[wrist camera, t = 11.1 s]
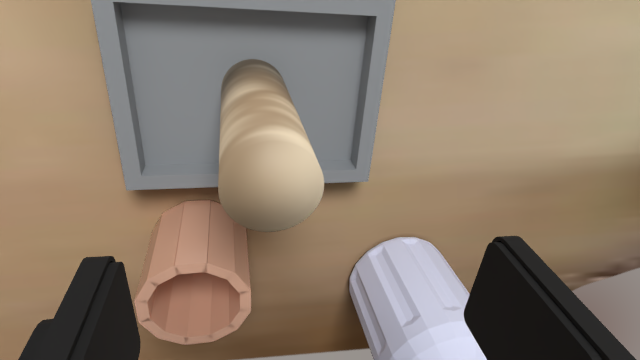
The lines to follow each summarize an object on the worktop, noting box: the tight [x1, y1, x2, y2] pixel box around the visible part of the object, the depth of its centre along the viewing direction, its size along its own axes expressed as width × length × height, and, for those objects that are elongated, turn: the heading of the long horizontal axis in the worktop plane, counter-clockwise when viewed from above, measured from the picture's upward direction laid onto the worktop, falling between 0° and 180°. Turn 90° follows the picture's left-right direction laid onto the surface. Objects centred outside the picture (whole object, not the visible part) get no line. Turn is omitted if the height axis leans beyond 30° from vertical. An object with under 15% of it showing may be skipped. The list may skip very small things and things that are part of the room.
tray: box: [91, 0, 396, 190], centre depth 25 cm, size 16×12×2 cm
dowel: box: [218, 59, 324, 232], centre depth 20 cm, size 4×4×12 cm
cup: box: [134, 200, 251, 345], centre depth 28 cm, size 7×7×7 cm
